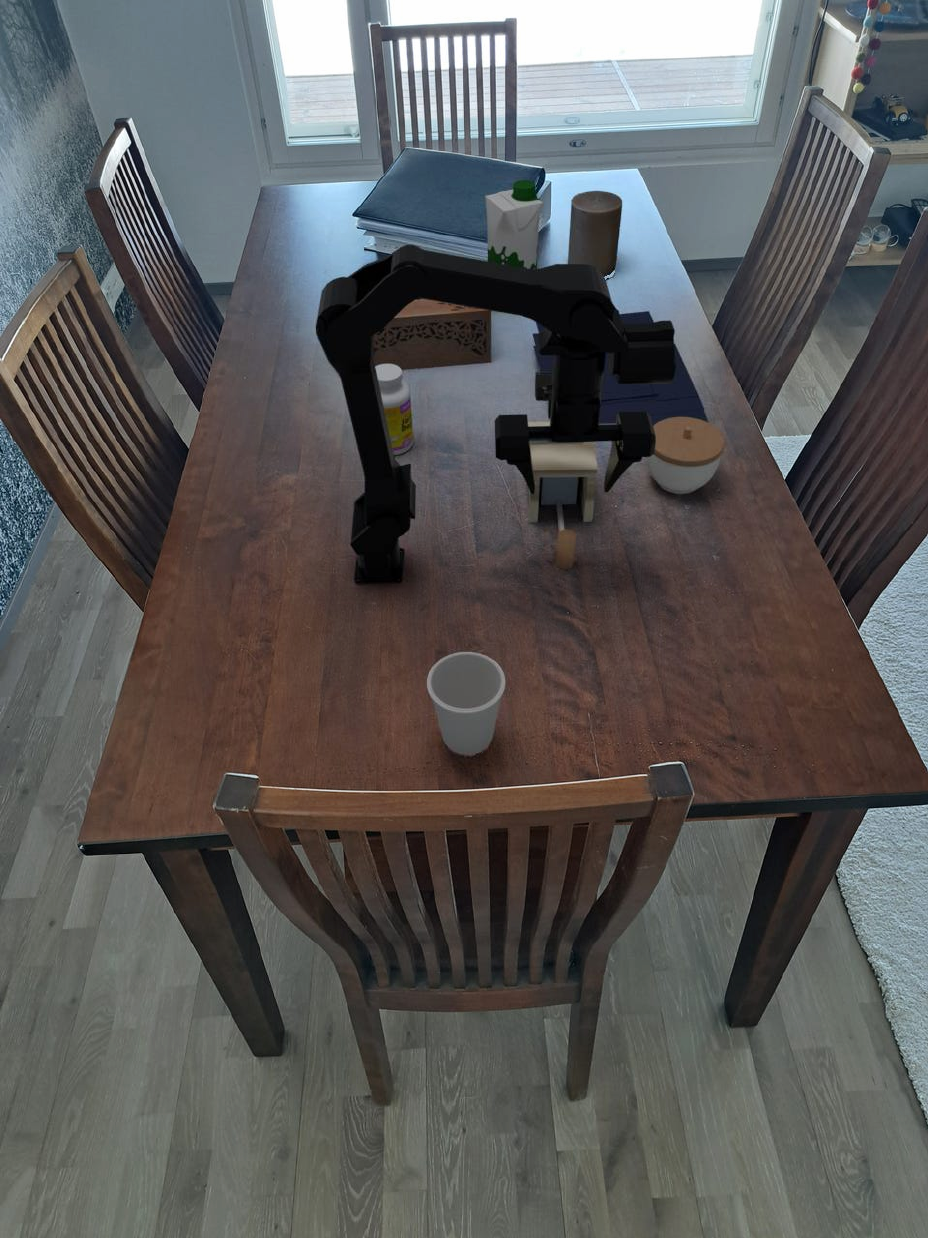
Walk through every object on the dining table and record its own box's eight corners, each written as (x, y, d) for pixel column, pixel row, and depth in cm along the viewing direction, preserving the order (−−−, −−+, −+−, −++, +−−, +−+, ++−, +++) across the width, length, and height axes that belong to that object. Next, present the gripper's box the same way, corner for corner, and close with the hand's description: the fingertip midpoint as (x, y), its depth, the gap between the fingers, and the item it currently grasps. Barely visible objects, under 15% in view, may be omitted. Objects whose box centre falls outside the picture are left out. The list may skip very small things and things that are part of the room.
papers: (656, 323, 164) (660, 305, 161) (707, 436, 146) (712, 418, 143) (524, 335, 162) (525, 317, 159) (559, 451, 144) (561, 434, 141)
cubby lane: (591, 521, 129) (597, 469, 122) (529, 522, 129) (531, 470, 122) (585, 472, 136) (590, 421, 130) (526, 473, 137) (527, 421, 130)
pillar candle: (623, 266, 182) (632, 189, 171) (602, 286, 176) (609, 208, 165) (580, 255, 185) (586, 179, 174) (557, 275, 180) (562, 197, 169)
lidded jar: (718, 465, 137) (730, 412, 130) (711, 509, 130) (724, 456, 123) (646, 454, 139) (655, 402, 132) (636, 497, 132) (644, 444, 125)
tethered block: (583, 569, 122) (586, 541, 119) (546, 569, 122) (548, 541, 119) (573, 482, 135) (575, 454, 131) (539, 482, 135) (541, 455, 131)
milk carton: (543, 298, 173) (548, 190, 159) (500, 309, 171) (501, 200, 156) (522, 279, 179) (524, 173, 164) (480, 289, 176) (479, 182, 162)
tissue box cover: (479, 322, 168) (479, 270, 161) (491, 363, 158) (491, 310, 151) (340, 333, 166) (333, 281, 159) (343, 376, 157) (335, 322, 149)
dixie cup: (504, 707, 106) (506, 651, 99) (503, 767, 101) (504, 712, 93) (433, 706, 107) (429, 649, 100) (428, 765, 101) (423, 710, 94)
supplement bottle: (408, 459, 140) (402, 386, 130) (366, 454, 141) (357, 382, 131) (418, 434, 144) (413, 361, 135) (377, 429, 145) (370, 357, 136)
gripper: (649, 343, 108) (635, 450, 120) (493, 347, 109) (493, 454, 120) (664, 396, 101) (647, 505, 112) (495, 399, 101) (495, 508, 112)
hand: (569, 491), depth 114 cm, fingers open, 9 cm apart
